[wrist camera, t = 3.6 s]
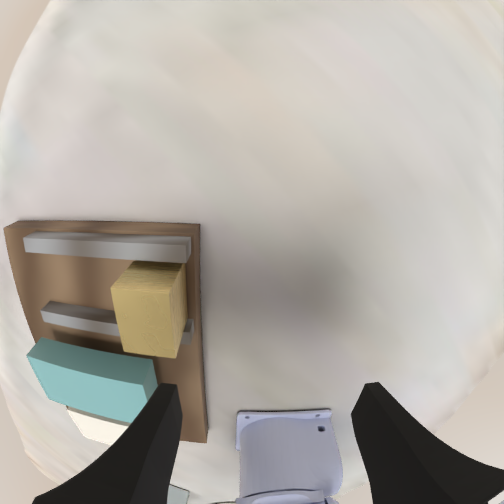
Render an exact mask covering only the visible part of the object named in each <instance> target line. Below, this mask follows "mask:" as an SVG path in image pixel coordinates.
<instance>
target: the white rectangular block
mask: <svg viewBox="0 0 504 504" xmlns="http://www.w3.org/2000/svg"><path fill="white" fill-rule="evenodd" d="M67 411H68V412H69V414H70V416H71V417H72V419H73V421H74V422H75V424H76V425H77V427H78V429H79V430H80V432H81V433H82V435H83V436H84V437H86V438H89V439H92V440H95V441H98V442H102V443H105V444H109V445H112V444H113V443H114V442H115V441H116V440H117V439H118V438H119V437H120V436H121V435H122V434H123V432H124V431H125V430H126V429H127V428H128V427H129V425H130V424H131V423H129V422H124V421H120V420H116V419H111V418H107V417H104V416H100V415H96V414H93V413H89V412H86V411H82V410H79V409H76V408H73V407H70V406H68V408H67Z"/></svg>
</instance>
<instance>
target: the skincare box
mask: <svg viewBox="0 0 504 504" xmlns="http://www.w3.org/2000/svg"><path fill="white" fill-rule="evenodd" d="M188 496H189V491H186V490H183V489H180V488H177V487H174V486H172V485H169V489H168V498H167V504H187V501H188Z"/></svg>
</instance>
